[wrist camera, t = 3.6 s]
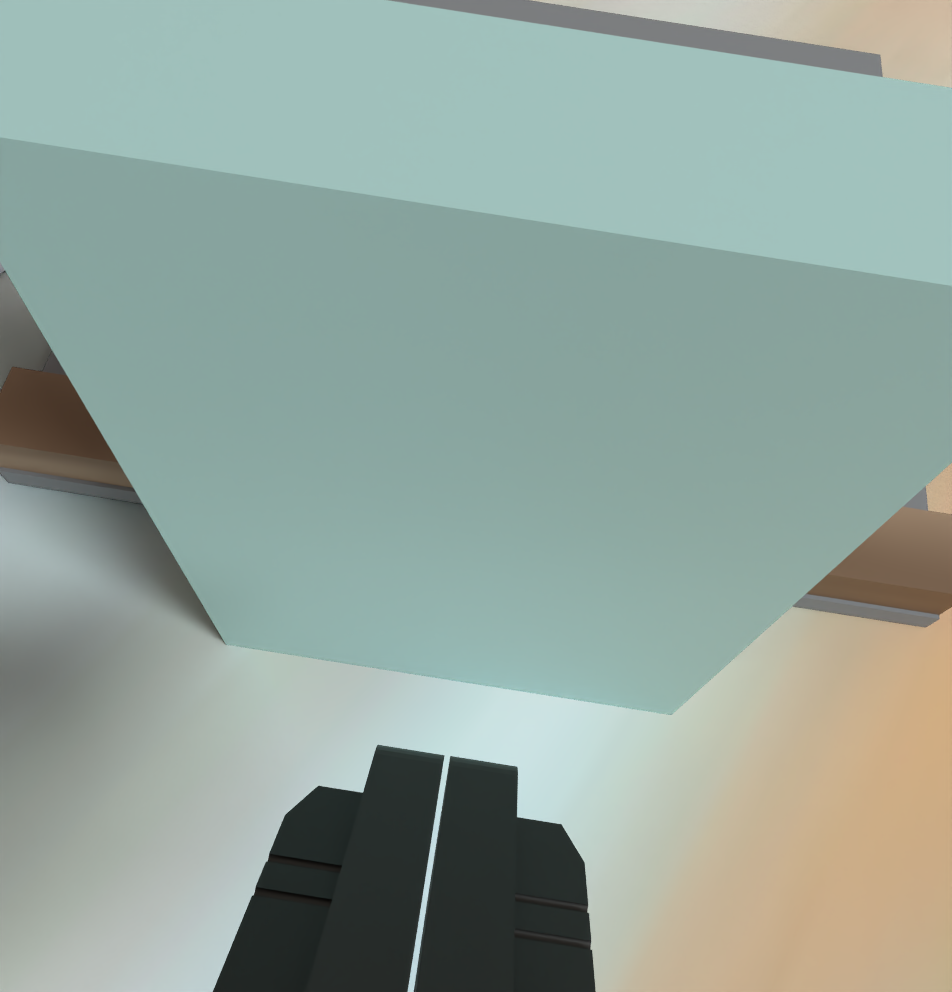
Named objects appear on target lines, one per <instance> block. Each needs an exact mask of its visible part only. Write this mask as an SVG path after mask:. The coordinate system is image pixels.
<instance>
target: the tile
mask: <svg viewBox="0 0 952 992" xmlns="http://www.w3.org/2000/svg"><path fill="white" fill-rule="evenodd" d="M0 263H1V264H2V266H3V268H4V270H5V271H6V273H7V275H8V276H9V278H10V280H11V281H12V283H13V285H14V286H15V288H16V290H17V292H18V293H19V295H20V297H21V298H22V300H23V302H24V303H25V305H26V307H27V308H28V310H29V312H30V314H31V315H32V317H33V319H34V320H35V322H36V324H37V325H38V327H39V329H40V330H41V332H42V334H43V336H44V337H45V339H46V341H47V342H48V344H49V346H50V347H51V349H52V351H53V353H54V354H55V356H56V358H57V359H58V361H59V363H60V364H61V366H62V368H63V369H64V371H65V373H66V375H67V376H68V378H69V380H70V381H71V383H72V385H73V386H74V388H75V390H76V391H77V393H78V395H79V397H80V398H81V400H82V402H83V403H84V405H85V407H86V408H87V410H88V412H89V413H90V415H91V417H92V419H93V420H94V422H95V424H96V425H97V427H98V429H99V430H100V432H101V434H102V435H103V437H104V439H105V441H106V442H107V444H108V446H109V447H110V449H111V451H112V452H113V454H114V456H115V457H116V459H117V461H118V463H119V464H120V466H121V468H122V469H123V471H124V473H125V474H126V476H127V478H128V479H129V481H130V483H131V485H132V486H133V488H134V490H135V491H136V493H137V495H138V496H139V498H140V500H141V501H142V503H143V505H144V507H145V508H146V510H147V512H148V513H149V515H150V517H151V518H152V520H153V522H154V524H155V525H156V527H157V529H158V530H159V532H160V534H161V535H162V537H163V539H164V540H165V542H166V544H167V546H168V547H169V549H170V551H171V552H172V554H173V556H174V557H175V559H176V561H177V562H178V564H179V566H180V568H181V569H182V571H183V573H184V574H185V576H186V578H187V579H188V581H189V583H190V584H191V586H192V588H193V590H194V591H195V593H196V595H197V596H198V598H199V600H200V601H201V603H202V605H203V606H204V608H205V610H206V612H207V613H208V615H209V617H210V618H211V620H212V622H213V623H214V625H215V627H216V628H217V630H218V632H219V634H220V635H221V637H222V639H223V640H224V642H225V644H226V645H233V646H239V647H245V648H252V649H258V650H264V651H270V652H277V653H283V654H289V655H296V656H302V657H308V658H315V659H321V660H327V661H334V662H340V663H346V664H353V665H359V666H365V667H372V668H378V669H384V670H391V671H397V672H403V673H409V674H416V675H422V676H428V677H435V678H441V679H447V680H454V681H460V682H466V683H473V684H479V685H485V686H492V687H498V688H504V689H511V690H517V691H523V692H529V693H536V694H542V695H548V696H555V697H561V698H567V699H574V700H580V701H586V702H593V703H599V704H605V705H612V706H618V707H624V708H631V709H637V710H643V711H650V712H656V713H662V714H668V715H672V714H673V713H674V712H675V711H676V710H677V709H679V708H680V707H681V706H682V705H683V704H684V703H685V702H686V701H687V700H689V699H690V698H691V697H692V696H693V695H694V694H695V693H696V692H697V691H699V690H700V689H701V688H702V687H703V686H704V685H705V684H706V683H707V682H709V681H710V680H711V679H712V678H713V677H714V676H715V675H716V674H717V673H719V672H720V671H721V670H722V669H723V668H724V667H725V666H726V665H727V664H729V663H730V662H731V661H732V660H733V659H734V658H735V657H736V656H737V655H739V654H740V653H741V652H742V651H743V650H744V649H745V648H746V647H747V646H749V645H750V644H751V643H752V642H753V641H754V640H755V639H756V638H757V637H759V636H760V635H761V634H762V633H763V632H764V631H765V630H766V629H767V628H768V627H770V626H771V625H772V624H773V623H774V622H775V621H776V620H777V619H778V618H780V617H781V616H782V615H783V614H784V613H785V612H786V611H787V610H788V609H790V608H791V607H792V606H793V605H794V604H795V603H796V602H797V601H798V600H800V599H801V598H802V597H803V596H804V595H805V594H806V593H807V592H808V591H810V590H811V589H812V588H813V587H814V586H815V585H816V584H817V583H818V582H820V581H821V580H822V579H823V578H824V577H825V576H826V575H827V574H828V573H830V572H831V571H832V570H833V569H834V568H835V567H836V566H837V565H838V564H840V563H841V562H842V561H843V560H844V559H845V558H846V557H847V556H848V555H850V554H851V553H852V552H853V551H854V550H855V549H856V548H857V547H858V546H860V545H861V544H862V543H863V542H864V541H865V540H866V539H867V538H868V537H870V536H871V535H872V534H873V533H874V532H875V531H876V530H877V529H878V528H880V527H881V526H882V525H883V524H884V523H885V522H886V521H887V520H888V519H890V518H891V517H892V516H893V515H894V514H895V513H896V512H897V511H898V510H900V509H901V508H902V507H903V506H904V505H905V504H906V503H907V502H908V501H910V500H911V499H912V498H913V497H914V496H915V495H916V494H917V493H918V492H920V491H921V490H922V489H923V488H924V487H925V486H926V485H927V484H928V483H930V482H931V481H932V480H933V479H934V478H935V477H936V476H937V475H938V474H939V473H941V472H942V471H943V470H944V469H945V468H946V467H947V466H948V465H949V464H951V463H952V88H949V87H943V86H936V85H930V84H923V83H917V82H910V81H904V80H898V79H891V78H885V77H878V76H872V75H865V74H859V73H852V72H846V71H840V70H833V69H827V68H820V67H814V66H807V65H801V64H794V63H788V62H782V61H775V60H769V59H762V58H756V57H749V56H743V55H737V54H730V53H724V52H717V51H711V50H704V49H698V48H691V47H685V46H679V45H672V44H666V43H659V42H653V41H646V40H640V39H633V38H627V37H621V36H614V35H608V34H601V33H595V32H588V31H582V30H575V29H569V28H563V27H556V26H550V25H543V24H537V23H530V22H524V21H517V20H511V19H505V18H498V17H492V16H485V15H479V14H472V13H466V12H460V11H453V10H447V9H440V8H434V7H427V6H421V5H414V4H408V3H402V2H395V1H389V0H0Z"/></svg>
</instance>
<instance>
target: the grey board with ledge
mask: <svg viewBox="0 0 952 992" xmlns="http://www.w3.org/2000/svg"><path fill="white" fill-rule="evenodd" d="M389 1H395V2H402V3H408V4H414V5H421V6H427V7H434V8H440V9H447V10H453V11H460V12H466V13H472V14H479V15H485V16H492V17H498V18H505V19H511V20H517V21H524V22H530V23H537V24H543V25H550V26H556V27H563V28H569V29H575V30H582V31H588V32H595V33H601V34H608V35H614V36H621V37H627V38H633V39H640V40H646V41H653V42H659V43H666V44H672V45H679V46H685V47H691V48H698V49H704V50H711V51H717V52H724V53H730V54H737V55H743V56H749V57H756V58H762V59H769V60H775V61H782V62H788V63H794V64H801V65H807V66H814V67H820V68H827V69H833V70H840V71H846V72H852V73H859V74H865V75H872V76H878V77H882V67H881V57H880V55H878V54H872V53H865V52H859V51H852V50H846V49H839V48H833V47H827V46H820V45H814V44H807V43H801V42H794V41H788V40H781V39H775V38H769V37H762V36H756V35H749V34H743V33H736V32H730V31H723V30H717V29H710V28H704V27H698V26H691V25H685V24H678V23H672V22H665V21H659V20H652V19H646V18H640V17H633V16H627V15H620V14H614V13H607V12H601V11H594V10H588V9H581V8H575V7H569V6H562V5H556V4H549V3H543V2H536V1H530V0H389ZM0 473H1V474H2V476H3V477H4V478H5V479H6V480H7V482H8V483H13V484H20V485H26V486H32V487H39V488H45V489H51V490H58V491H64V492H71V493H77V494H83V495H90V496H96V497H102V498H109V499H115V500H121V501H128V502H134V503H140V504H143V503H142V501H141V500H140V498H139V496H138V495H137V493H136V491H135V490H134V488H133V486H132V485H131V483H130V481H129V479H128V478H127V476H126V474H125V473H124V471H123V469H122V468H121V466H120V464H119V463H118V461H117V459H116V457H115V456H114V454H113V452H112V451H111V449H110V447H109V446H108V444H107V442H106V441H105V439H104V437H103V435H102V434H101V432H100V430H99V429H98V427H97V425H96V424H95V422H94V420H93V419H92V417H91V415H90V413H89V412H88V410H87V408H86V407H85V405H84V403H83V402H82V400H81V398H80V397H79V395H78V393H77V391H76V390H75V388H74V386H73V385H72V383H71V381H70V380H69V378H68V376H67V375H66V373H65V371H64V369H63V368H62V366H61V364H60V363H59V361H58V359H57V358H56V356H55V354H54V353H53V351H51V354H50V356H49V358H48V360H47V363H46V365H45V367H44V369H43V371H36V370H29V369H23V368H17V367H12V368H11V370H10V372H9V375H8V377H7V379H6V381H5V383H4V385H3V387H2V390H1V392H0ZM793 606H794V607H800V608H806V609H813V610H819V611H825V612H832V613H838V614H844V615H851V616H857V617H863V618H870V619H876V620H882V621H889V622H895V623H901V624H908V625H914V626H920V627H927V626H929V625H931V624H932V623H934V622H935V621H937V620H939V615H940V614H941V613H943V612H944V611H946V610H948V609H949V608H951V607H952V514H946V513H940V512H933V511H928V505H927V495H926V486H925V487H924V488H923V489H922V490H921V491H920V492H918V493H917V494H916V495H915V496H914V497H913V498H912V499H911V500H910V501H908V502H907V503H906V504H905V505H904V506H903V507H902V508H901V509H900V510H898V511H897V512H896V513H895V514H894V515H893V516H892V517H891V518H890V519H888V520H887V521H886V522H885V523H884V524H883V525H882V526H881V527H880V528H878V529H877V530H876V531H875V532H874V533H873V534H872V535H871V536H870V537H868V538H867V539H866V540H865V541H864V542H863V543H862V544H861V545H860V546H858V547H857V548H856V549H855V550H854V551H853V552H852V553H851V554H850V555H848V556H847V557H846V558H845V559H844V560H843V561H842V562H841V563H840V564H838V565H837V566H836V567H835V568H834V569H833V570H832V571H831V572H830V573H828V574H827V575H826V576H825V577H824V578H823V579H822V580H821V581H820V582H818V583H817V584H816V585H815V586H814V587H813V588H812V589H811V590H810V591H808V592H807V593H806V594H805V595H804V596H803V597H802V598H801V599H800V600H798V601H797V602H796V603H795V604H794V605H793Z"/></svg>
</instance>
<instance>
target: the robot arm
mask: <svg viewBox="0 0 952 992" xmlns="http://www.w3.org/2000/svg"><path fill="white" fill-rule="evenodd" d="M443 761H444V755H438V754H432V753H426V752H419V751H413V750H407V749H401V748H394V747H388V746H382V745H377V748H376V750H375V754H374V757H373V760H372V764H371V767H370V771H369V774H368V778H367V781H366V785H365V788H364V792H363V793H360V792H354V791H347V790H341V789H335V788H329V787H322V786H318V787H317V788H315V789H314V790H313V791H312V792H311V793H310V794H309V795H307V796H306V797H305V798H304V799H303V800H302V801H301V802H299V803H298V804H297V805H296V806H295V807H294V808H293V809H291V810H290V811H289V812H288V813H287V814H286V815H285V817H284V819H283V822H282V824H281V826H280V829H279V831H278V834H277V836H276V839H275V841H274V844H273V846H272V848H271V851H270V853H269V858H268V862H266V863H265V866H264V868H263V870H262V873H261V875H260V878H259V880H258V883H257V885H256V889H255V893H254V896H252V897H251V900H250V902H249V905H248V907H247V910H246V912H245V914H244V917H243V919H242V922H241V924H240V927H239V929H238V932H237V934H236V936H235V939H234V941H233V944H232V946H231V949H230V951H229V954H228V956H227V958H226V961H225V963H224V966H223V968H222V971H221V973H220V976H219V978H218V980H217V983H216V985H215V988H214V990H213V992H407V991H408V984H409V978H410V972H411V965H412V959H413V953H414V946H415V940H416V934H417V927H418V921H419V915H420V908H421V902H422V895H423V889H424V883H425V876H426V870H427V863H428V857H429V851H430V844H431V838H432V831H433V825H434V819H435V812H436V806H437V799H438V793H439V786H440V780H441V774H442V767H443ZM517 786H518V769H517V767H515V766H509V765H503V764H496V763H490V762H484V761H478V760H471V759H465V758H459V757H452V756H450V762H449V768H448V774H447V780H446V787H445V793H444V799H443V806H442V812H441V818H440V825H439V831H438V837H437V844H436V850H435V856H434V863H433V869H432V875H431V882H430V888H429V894H428V901H427V907H426V914H425V920H424V927H423V934H422V940H421V947H420V954H419V960H418V967H417V974H416V980H415V987H414V992H595V980H594V968H593V957H592V950H590V945H591V933H590V921H589V913H587V909H588V898H587V886H586V875H585V863H584V861H583V859H582V858H581V856H580V854H579V853H578V851H577V849H576V848H575V846H574V845H573V843H572V841H571V840H570V838H569V836H568V835H567V833H566V831H565V830H564V828H563V826H562V825H561V824H555V823H549V822H543V821H537V820H530V819H524V818H518V817H517Z"/></svg>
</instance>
